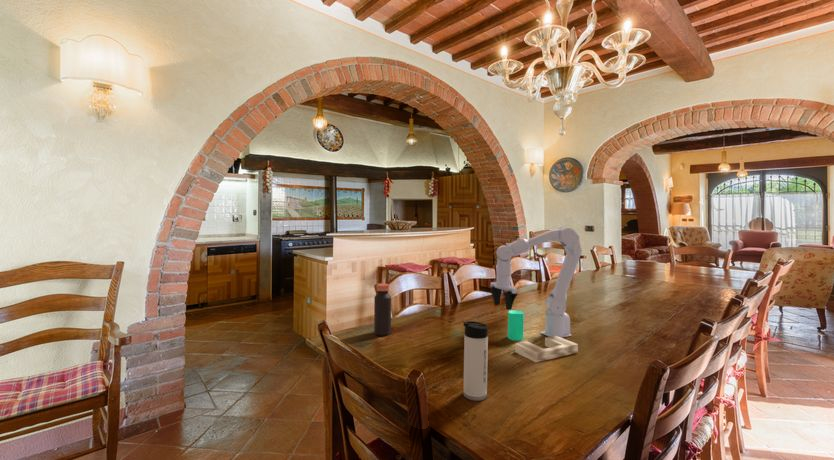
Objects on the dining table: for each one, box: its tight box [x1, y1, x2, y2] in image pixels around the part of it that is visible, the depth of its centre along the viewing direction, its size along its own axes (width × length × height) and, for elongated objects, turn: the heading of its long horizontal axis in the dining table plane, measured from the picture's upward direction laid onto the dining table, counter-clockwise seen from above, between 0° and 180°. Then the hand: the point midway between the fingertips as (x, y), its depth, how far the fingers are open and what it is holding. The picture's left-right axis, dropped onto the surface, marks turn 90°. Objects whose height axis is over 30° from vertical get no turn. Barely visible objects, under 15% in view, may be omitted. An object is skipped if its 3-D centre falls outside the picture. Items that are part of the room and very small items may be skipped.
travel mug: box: [462, 320, 489, 402], centre depth 97 cm, size 6×7×20 cm
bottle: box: [373, 283, 392, 337], centre depth 146 cm, size 7×7×20 cm
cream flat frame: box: [514, 336, 579, 363], centre depth 128 cm, size 20×10×3 cm, turn 116°
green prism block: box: [507, 309, 525, 342], centre depth 142 cm, size 6×6×12 cm
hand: (502, 307), depth 149 cm, fingers open, 7 cm apart
